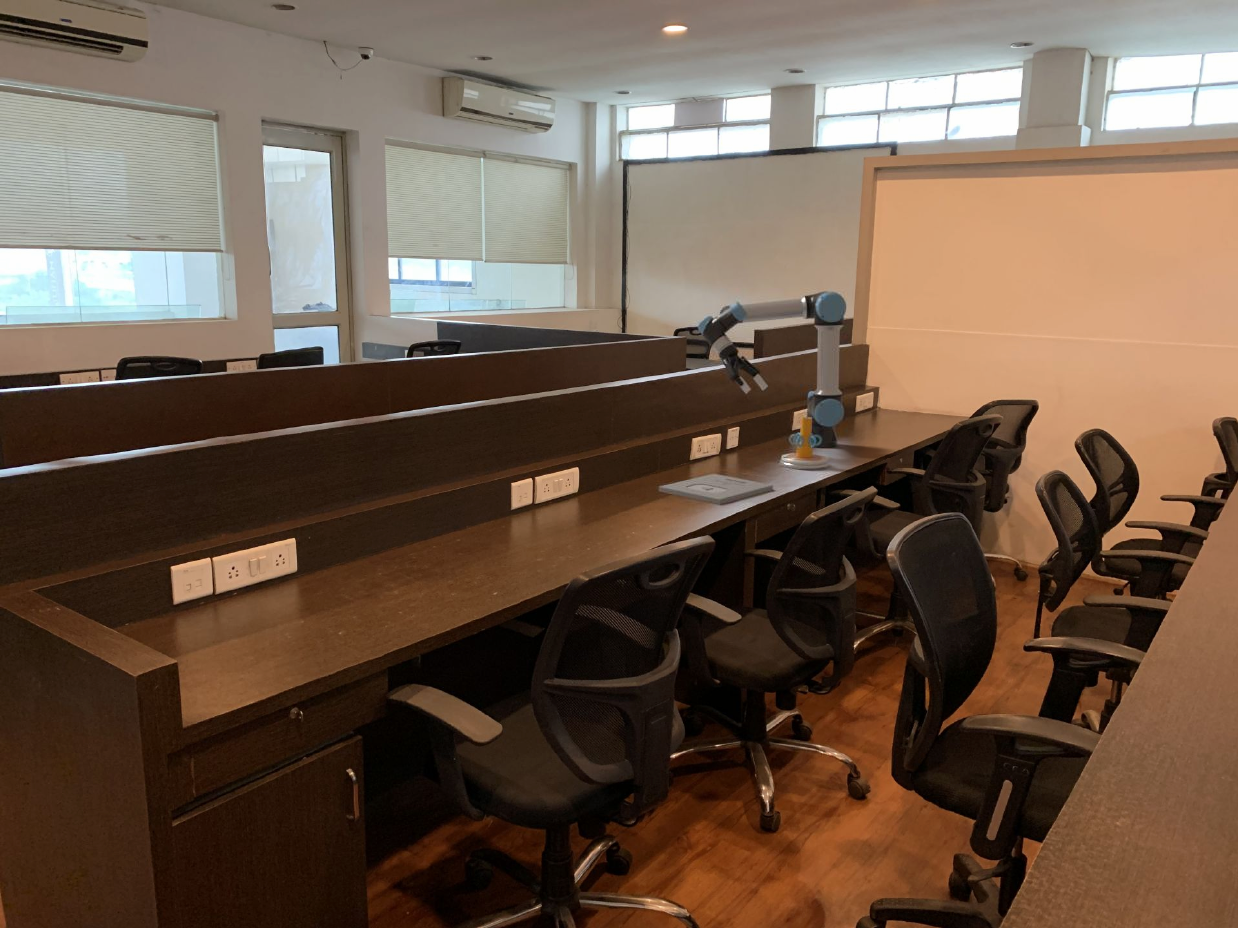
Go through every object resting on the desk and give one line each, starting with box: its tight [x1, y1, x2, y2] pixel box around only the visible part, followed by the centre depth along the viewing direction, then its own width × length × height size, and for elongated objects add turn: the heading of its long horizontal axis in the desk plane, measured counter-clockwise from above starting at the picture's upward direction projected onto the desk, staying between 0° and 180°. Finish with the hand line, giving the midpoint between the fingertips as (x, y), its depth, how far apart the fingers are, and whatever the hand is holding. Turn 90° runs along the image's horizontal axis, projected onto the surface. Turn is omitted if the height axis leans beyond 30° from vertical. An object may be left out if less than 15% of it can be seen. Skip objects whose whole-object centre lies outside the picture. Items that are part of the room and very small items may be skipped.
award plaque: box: [658, 473, 774, 505], centre depth 307 cm, size 25×30×2 cm
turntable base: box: [779, 458, 829, 471], centre depth 352 cm, size 18×18×2 cm
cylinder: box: [788, 416, 822, 458], centre depth 350 cm, size 12×10×15 cm
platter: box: [781, 452, 828, 466], centre depth 351 cm, size 17×17×2 cm
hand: (757, 390), depth 367 cm, fingers open, 13 cm apart
